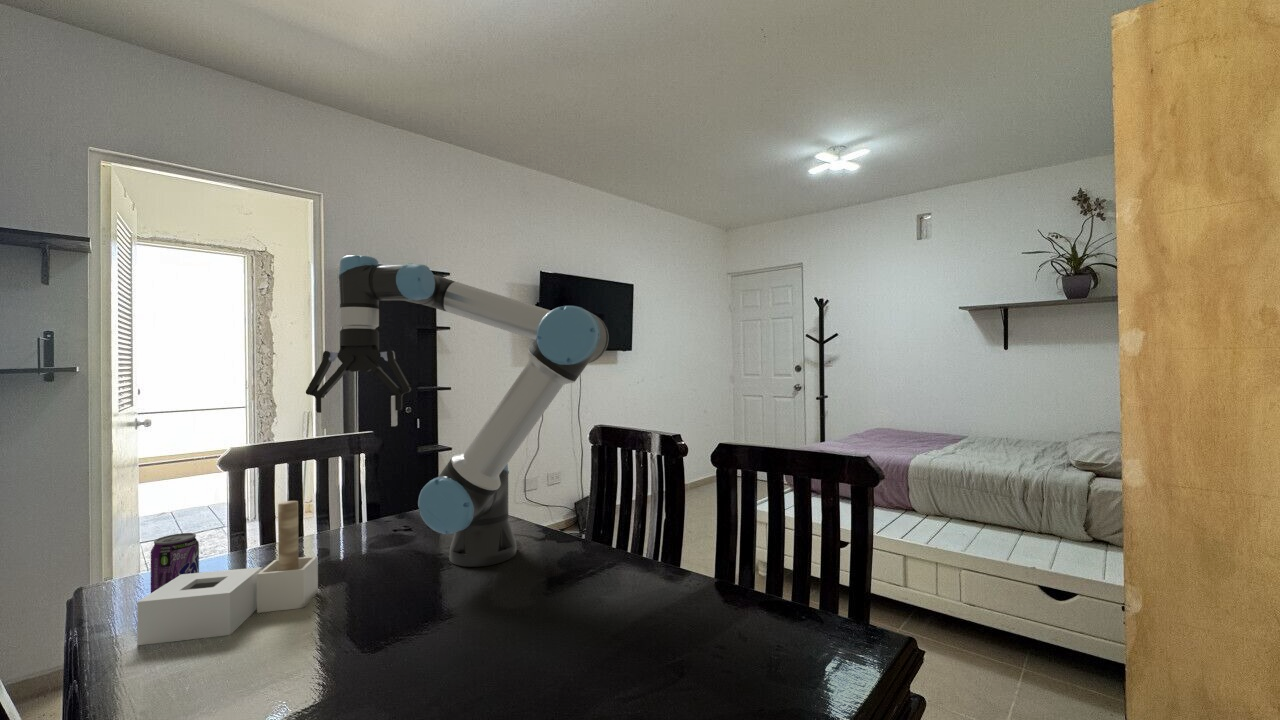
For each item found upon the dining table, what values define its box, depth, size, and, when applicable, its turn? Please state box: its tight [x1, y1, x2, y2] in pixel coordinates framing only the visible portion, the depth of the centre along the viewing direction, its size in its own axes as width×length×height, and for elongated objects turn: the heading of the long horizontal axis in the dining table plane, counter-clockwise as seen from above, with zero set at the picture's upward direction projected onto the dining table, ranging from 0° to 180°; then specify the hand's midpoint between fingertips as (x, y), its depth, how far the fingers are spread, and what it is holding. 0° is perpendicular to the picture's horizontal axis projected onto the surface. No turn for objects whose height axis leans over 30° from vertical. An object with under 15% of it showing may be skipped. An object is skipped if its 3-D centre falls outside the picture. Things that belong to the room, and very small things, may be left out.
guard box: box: [136, 566, 263, 646], centre depth 94 cm, size 13×12×7 cm
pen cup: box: [256, 555, 319, 614], centre depth 103 cm, size 8×8×7 cm
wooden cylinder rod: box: [277, 500, 300, 571], centre depth 103 cm, size 3×3×18 cm
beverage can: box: [150, 532, 200, 594], centre depth 104 cm, size 7×7×12 cm
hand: (360, 427), depth 116 cm, fingers open, 13 cm apart
